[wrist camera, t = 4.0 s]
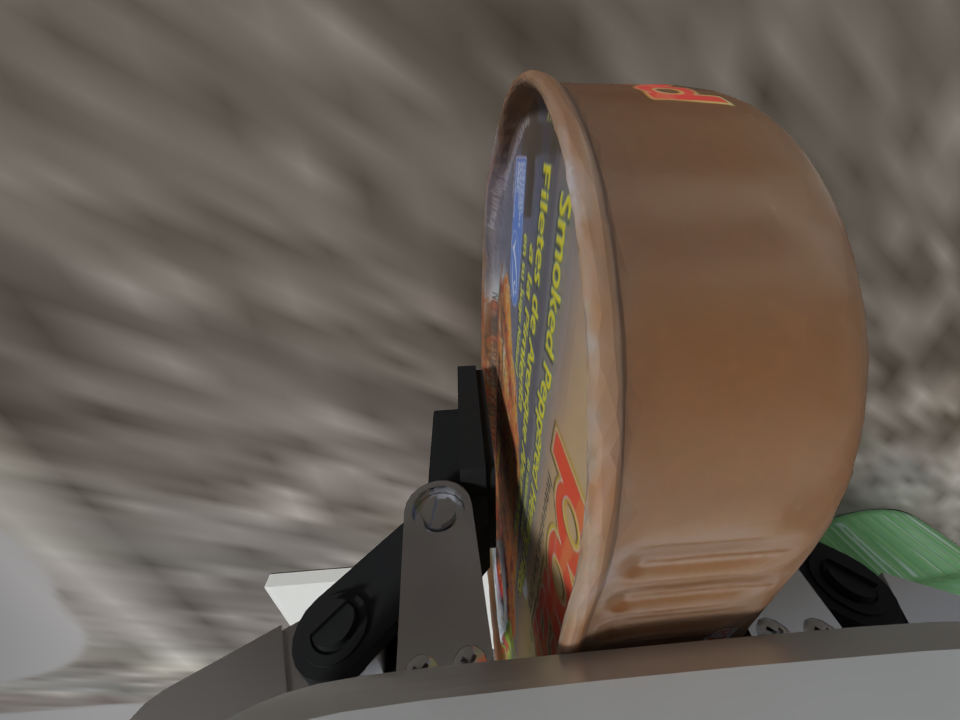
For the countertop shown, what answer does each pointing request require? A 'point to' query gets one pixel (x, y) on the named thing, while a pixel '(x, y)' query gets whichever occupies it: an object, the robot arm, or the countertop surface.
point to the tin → (659, 364)
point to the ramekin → (897, 547)
